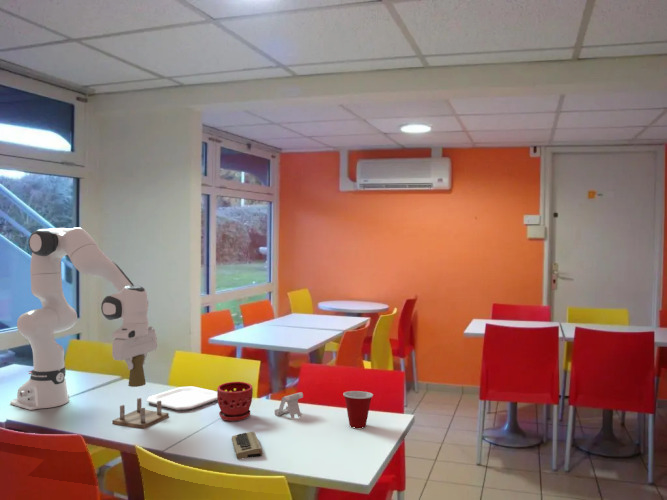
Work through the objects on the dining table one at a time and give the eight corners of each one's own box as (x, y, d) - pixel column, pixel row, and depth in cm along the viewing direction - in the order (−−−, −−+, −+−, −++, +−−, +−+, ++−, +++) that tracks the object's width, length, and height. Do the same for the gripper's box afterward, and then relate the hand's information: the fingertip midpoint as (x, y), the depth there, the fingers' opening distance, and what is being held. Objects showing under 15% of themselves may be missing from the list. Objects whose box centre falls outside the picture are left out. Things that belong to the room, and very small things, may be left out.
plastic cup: (376, 422, 206) (376, 390, 205) (368, 432, 195) (368, 398, 195) (348, 419, 209) (348, 387, 209) (338, 429, 199) (339, 395, 199)
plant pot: (210, 417, 211) (210, 386, 210) (238, 409, 220) (238, 379, 220) (231, 426, 202) (231, 393, 201) (259, 417, 211) (259, 385, 211)
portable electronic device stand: (291, 410, 220) (291, 389, 219) (305, 415, 214) (305, 393, 214) (274, 415, 214) (274, 393, 213) (287, 420, 208) (287, 398, 208)
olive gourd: (140, 387, 203) (139, 356, 203) (124, 386, 204) (124, 356, 204) (148, 382, 209) (148, 353, 208) (134, 382, 210) (133, 352, 210)
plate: (228, 398, 236) (228, 393, 235) (183, 415, 215) (183, 409, 215) (186, 389, 249) (186, 384, 249) (140, 404, 228) (140, 398, 228)
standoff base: (112, 423, 204) (112, 406, 203) (138, 412, 217) (138, 396, 217) (143, 428, 199) (143, 411, 199) (168, 416, 212) (168, 400, 212)
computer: (231, 442, 188) (231, 432, 187) (255, 439, 190) (255, 430, 190) (236, 460, 172) (236, 450, 172) (262, 457, 175) (262, 447, 174)
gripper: (147, 325, 217) (148, 360, 217) (108, 334, 198) (109, 373, 198) (160, 325, 215) (161, 361, 215) (123, 335, 195) (123, 374, 196)
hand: (136, 367), depth 206 cm, fingers closed on olive gourd, 4 cm apart
